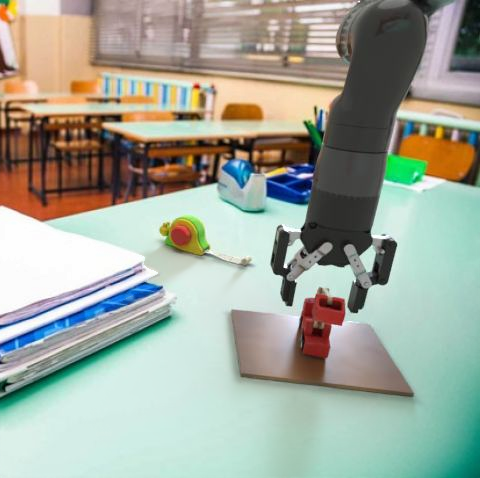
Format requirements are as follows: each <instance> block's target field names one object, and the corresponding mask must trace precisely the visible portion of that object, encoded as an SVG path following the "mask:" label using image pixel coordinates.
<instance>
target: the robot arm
mask: <svg viewBox="0 0 480 478" xmlns="http://www.w3.org/2000/svg"><path fill="white" fill-rule="evenodd" d="M458 1H459V0H358V1H357V2H356V3H355V4H354V5H353V6H352V8H351V9H350V10H349V11H348V12H347V13H346V14H345V15H344V17H343V18H342V20H341V22H340V23H339V26H338V28H337V31H336V34H335V50H336V52H337V54H338V56H339V58H340V59H341V60H342V62H344V63H345V64H347V66H348V70H347V73H346V76H345V80H344V83H343V87H342V91H341V92H340V93H339V94H338V95H337V96H335V97H334V98H333V100H332V101H331V104H330V106H329V109H328V114H327V116H326V121H325V128H324V133H323V137H322V138H323V139H322V144H321V147H320V151H319V154H318V156H317V160H316V162H315V167H314V171H313V173H312V179H311V180H312V183H311V189H310V193H309V199H308V203H307V208H306V214H305V220H304V223H303V225H302V226H301V227H300V229H298V228H290V227H287V225H284V224H279V225H277V227H276V229H275V230H276V231H275V235H274V240H273V245H272V246H273V247H272V251H271V257H270V262H269V265H270V268H271V270H272V273H273V275H275V276H280V277H281V278H282V279H281V280H282V281H281V285H280V291H279V292H280V293H279V295H280V298H281V301H282V302H284V304H285V307H293V305H294V299H295V294H296V289H297V285H298V281H297V279H298V278H299V277H300V276H301V275H302V274H303V273H305V272H307V271H309V270H310V269H311V268H312V267H314V265H316V264H317V266H321V267H327V266H334V267H337V268H345V267H346V266H349V268H350V269H351V271H352V273H353V275H354V277H355V280H352V282H351V288H350V291H349V295H348V299H347V303H346V307H347V309H348V310H349V313H351V314H358V313H359V310H362V309H363V308H364V307H365V304H366V299H367V297H368V292H369V289H370V288H371V287H373V286H376V285H377V286H378V285H379V286H386V285H387V284H388V283H389V280H390V276H391V272H392V267H393V264H394V261H395V256H396V253H397V248H398V243H397V241H396V240H395V239H394V238H393V237H392V236H391V235H390V234H388V233H382V234H381V235H373V234H372V229H373V226H374V222H375V218H376V214H377V210H378V206H379V202H380V199H381V195H382V190H383V185H384V181H385V177H386V174H387V173H386V172H387V165H388V155H389V150H390V146H391V143H392V138H393V135H394V131H395V126H396V121H397V116H398V112H399V109H400V108H401V105H402V104H403V102H404V100H405V98H406V96H407V95H408V93H409V90H410V88H411V87H412V84H413V81H414V79H415V77H416V75H417V72H418V71H419V68H420V65H421V62H422V60H423V58H424V55H425V52H426V49H427V45H428V40H429V19H430V18H431V17H432V16H433V15H435V14H436V13H437V12H438V11H440V10H441V9H443V8H445V7H447V6H449V5H451V4H454V3H456V2H458ZM296 240H300V242H301V244H302V245H303V246H302V247H301V248H300V249H299V250H298V251H296V253H295V254H294V256H293V258H292V259H291V260H290V261H289V262H287V263H286V259H287V258H286V257H287V253H288V248H289V247H292V246H293V245H294V244H295V241H296ZM371 247H372V249H373V251H374V252H375V255H374V259H373V264H372V268H371V271H367V269H366V267H365V265H364V263H363V262H362V259H361V258H360V256H362V255H363V254H365V252H366V251H367V250H368V249H370V248H371ZM285 263H286V264H285Z"/></svg>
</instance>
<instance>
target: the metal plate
mask: <svg viewBox="0 0 480 478" xmlns="http://www.w3.org/2000/svg"><path fill="white" fill-rule="evenodd" d="M230 313H231V320H232V326H233V327H232V328H233V333H234V338H235V346H236V347H235V348H236V354H237V359H238V366H239V373H240V377H243V378H251V379H252V378H253V379H262V380H270V381H277V382H288V383H295V384H303V385H304V384H305V385H313V386H321V387H328V388H329V387H330V388H337V389H346V390H355V391H361V392H362V391H363V392H370V393H379V394H389V395H397V396H405V397H414V395H415V392H414V390H413V388H411V386H410V385H409V383H408V382H407V380H406V378H405V377H404V375H403V374H402V372H401V371H400V370H399V368H398V366H397V364H396V363H395V361H394V360H393V358H392V357H391V355H390V354H389V352H388V350H387V349H386V348H385V346H384V345H383V343H382V341H381V340H380V338H379V337H378V335H377V334H376V332H375V330H374V329H373V327H372V326H371V324H370V323H368V322H358V321H349V320H344V321H343V325H342V326H338V325H333V324H331V325H332V328H331V332H330V336H329V340H330V346H331V348H330V351H329V355H328V358H323V357H317V356H312V355H306V354H303V350H301V342H300V340H301V334H302V333H301V327H299V320H300V317H301V315H300V316H299V315H291V314H282V313H280V314H279V313H271V312H261V311H253V310H241V309H233V308H231V310H230Z"/></svg>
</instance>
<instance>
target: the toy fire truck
mask: <svg viewBox="0 0 480 478" xmlns="http://www.w3.org/2000/svg"><path fill="white" fill-rule="evenodd" d="M346 315H347V314H346V300H345V298H343V297H337V296H332V294H331V293H330V288H329V287H326V288H325V287H322V286H319V287H318V288H317V291H316V293H315V296H314V297H306V298H304V301H303V305H302V310H301V313H300V316H301V317H300V320H299V327H301V333H302V334H301V340H300V342H301V350H303V354H306V355H312V356H317V357H323V358H328V355H329V351H330V348H331V346H330V340H329V336H330V332H331V328H332V325H331V324H333V325H338V326H342V325H343V321H345V318H346Z"/></svg>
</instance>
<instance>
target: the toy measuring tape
mask: <svg viewBox="0 0 480 478" xmlns="http://www.w3.org/2000/svg"><path fill="white" fill-rule="evenodd" d="M159 234H160V235H161V236H163V237H165V239H164V245H168V246H170V247H173V248H176V249H178V250H181V251H184V252H188V253H189V254H195V255H198V256H202V255H205V254H209V255H212V256H214V257H216V258H218V259H220V260H222V261H224V262H227V263H231V264H232V263H233V264H235V265H241V264H242V266H246V265H248V264H249V263H251V261H252V260H253V258H252V256H250V255H246V256H244V257H242V258H240V257H238V256H234V255H231V254H226V253H223V252H218V251H216V250H211V244H210V243H209V242H208V240H207V237H206V227H205V225H204V223H203V221H202V220H201V219H200V218H198V217H196V216H195V215H192V214H184V215H181V216H179V217H177V218H175V219H173V220H172V222H170V221H169V220H167V221H166V222H163V223H162V225H160V226H159Z"/></svg>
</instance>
